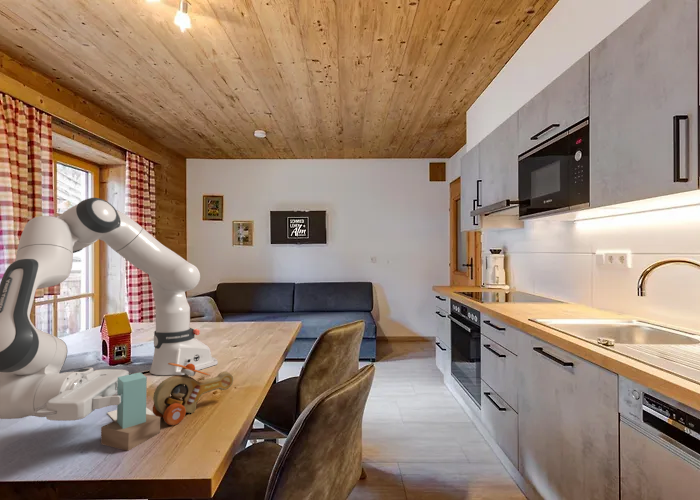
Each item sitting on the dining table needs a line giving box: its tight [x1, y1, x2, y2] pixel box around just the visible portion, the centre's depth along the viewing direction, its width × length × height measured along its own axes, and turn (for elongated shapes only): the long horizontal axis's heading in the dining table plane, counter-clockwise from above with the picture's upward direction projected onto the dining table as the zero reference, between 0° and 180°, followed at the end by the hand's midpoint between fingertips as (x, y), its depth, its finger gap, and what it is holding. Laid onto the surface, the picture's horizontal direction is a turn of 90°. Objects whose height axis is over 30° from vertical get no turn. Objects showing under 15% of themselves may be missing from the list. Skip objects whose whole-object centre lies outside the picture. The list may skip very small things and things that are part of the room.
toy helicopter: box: [152, 363, 234, 426], centre depth 93 cm, size 8×21×14 cm, turn 140°
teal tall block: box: [116, 371, 148, 429], centre depth 79 cm, size 4×4×10 cm
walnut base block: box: [100, 414, 161, 452], centre depth 79 cm, size 8×8×4 cm
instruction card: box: [106, 406, 156, 421], centre depth 91 cm, size 8×11×1 cm
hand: (131, 390), depth 79 cm, fingers open, 8 cm apart
